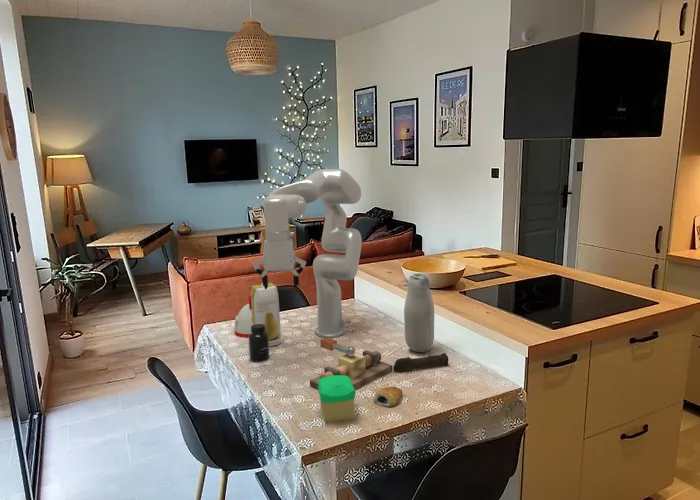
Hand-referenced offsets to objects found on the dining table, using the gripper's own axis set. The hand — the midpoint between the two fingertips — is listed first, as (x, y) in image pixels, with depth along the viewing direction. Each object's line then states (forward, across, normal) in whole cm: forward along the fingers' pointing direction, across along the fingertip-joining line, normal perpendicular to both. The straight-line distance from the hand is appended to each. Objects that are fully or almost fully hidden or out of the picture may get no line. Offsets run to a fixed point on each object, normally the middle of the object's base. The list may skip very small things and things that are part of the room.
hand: (281, 287), depth 168 cm
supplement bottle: (+28, +10, -7) cm, 30 cm away
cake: (+28, -18, +33) cm, 46 cm away
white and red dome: (+28, +18, -34) cm, 48 cm away
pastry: (+28, -33, +26) cm, 50 cm away
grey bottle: (+28, -46, -10) cm, 55 cm away
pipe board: (+28, -22, +11) cm, 37 cm away
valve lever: (+20, -18, +7) cm, 28 cm away
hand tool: (+28, -45, +6) cm, 53 cm away
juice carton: (+28, +10, -20) cm, 36 cm away
